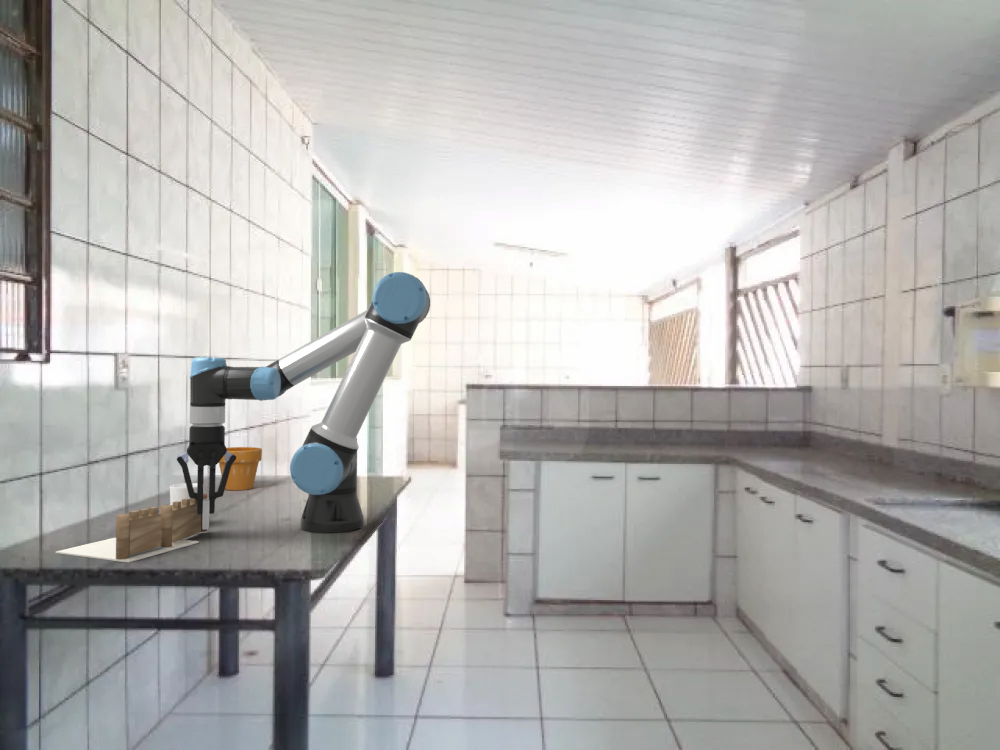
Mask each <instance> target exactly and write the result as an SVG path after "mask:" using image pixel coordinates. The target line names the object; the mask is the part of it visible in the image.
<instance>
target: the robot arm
mask: <svg viewBox="0 0 1000 750" xmlns="http://www.w3.org/2000/svg"><path fill="white" fill-rule="evenodd" d="M371 297H372V301H371V302H370V303H369V305H368V308H367V309H366V310H364V311H363V312H361V313H359V314H357V315H355V316H354V317H351V318H350V319H348V320H346V321H345V322H342V323H341V324H340V325H338V326H335V327H334V328H332V329H330V330H329V331H326V332H325V333H323V334H322V335H320V336H318V337H316V338H315V339H312V340H311V341H308V343H305V344H304V345H302V346H301V347H298V348H297V349H294V350H293V351H291V352H289V353H288V354H285V355H284V356H282V357H280V358H279V359H277V360H274V361H273V362H271V363H270V364H268V365H267V366H230V365H228V364H227V360H226V359H225V358H224V357H199V356H198V357H195V358H193V359H192V361H191V365H190V366H191V367H190V375H189V379H190V380H189V381H190V382H189V383H190V384H189V385H190V387H189V388H190V389H189V390H190V392H189V393H190V394H189V395H190V396H189V397H190V398H189V400H190V403H189V423H190V424H191V426H190V427H189V431H188V432H189V441H188V442H189V445H187V448H186V452H184V453H182V454H180V455H178V456H176V461H177V463H178V464H179V465H180V466H181V467H180V468H181V470H182V474H183V477H184V478H183V479H184V483H186V486H187V490H188V494H189V497H190V498H193V499H196V500H197V513H198V515H199V514H202V530H206V529H207V530H209V529H210V515H214V514H215V512H216V509H215V507H216V503H215V502H216V500H217V499H218V498H222V497H223V496H224V493H225V490H226V489H225V487H226V483H227V480H228V476H229V473H230V469H231V465H232V464H233V463H234V461H235V460H236V456H235V455H234V454H231V453H229V452H228V451H227V448H228V447H227V446H226V445H225V444H226V443H225V442H226V441H225V439H226V433H225V430H226V427H225V426H224V425H223V424H225V423H226V400H246V401H247V400H248V401H249V400H251V401H261V402H262V401H271V400H273V401H274V400H276V399H277V398H278V397H281V396H282V395H283V394H285V393H286V391H288V390H290V389H292V388H294V386H296V385H299V384H300V383H301V382H303V381H305V380H307V379H309V378H311V377H313V376H314V375H316V374H318V373H320V372H322V371H323V370H326V369H327V368H329V367H331V366H332V365H334V364H336V363H339V361H341V360H343V359H345V358H347V357H348V356H350V355H352V354H353V355H352V358H351V360H350V363H349V364H348V366H347V368H346V371H345V373H344V375H343V376H342V379H341V381H340V383H339V385H338V387H337V389H336V390H335V393H334V395H333V398H331V402H330V404H329V406H328V407H327V410H326V412H325V414H324V416H323V418H322V419H321V421H320V423H317V424H313V425H312V426H311V428H310V429H309V432H308V433H307V436H306V437H305V440H304V442H303V444H302V445H301V446H300V447H299V448H298V449H297V450H296V452H294V454H293V456H292V457H291V460H290V465H289V473H290V476H291V480H292V482H293V483H294V485H295V486H296V487H297V488H298V489H299V490H301V491H302V492H304V493H306V494H308V497H307V499H306V502H305V505H304V509H303V513H302V515H301V518H300V528H301V530H304V531H307V532H311V533H342V532H344V533H345V532H350V531H355V529H356V530H359V529H361V528H363V527H364V517H365V516H364V514H363V511H362V507H361V504H360V501H359V498H358V494H357V493H358V450H359V444H358V437H357V436H358V435H359V433H360V430H361V429H362V427H363V425H364V422H365V420H366V418H367V417H368V414H369V412H370V409H371V408H372V405H373V404H374V402H375V399H376V397H377V395H378V394H379V391H380V389H381V387H382V386H383V383H384V381H385V379H386V377H387V374H388V372H389V370H390V368H391V366H392V365H393V362H394V360H395V358H396V356H397V354H398V352H399V349H401V345H403V344H405V343H407V342H411V341H412V338H413V336H414V334H415V332H416V329H417V328H418V326H419V324H421V322H423V321H424V320H425V319H426V318H427V316H428V314H429V312H430V309H431V297H430V294H429V292H428V290H427V288H426V286H425V285H424V283H423V282H422V281H421V280H420V279H419V277H416V276H415V275H414V274H410V273H408V272H403V271H396V272H392V273H388V274H386V275H384V276H383V277H382V278H380V279H379V281H378V282H377V284H376V285H375V287H374V288H373V293H372V295H371ZM224 455H225V461H226V463H225V467H224V470H223V474H222V475H221V479H220V481H219V484H218V485H219V486H218V489H217V491H216V472H217V471H216V470H217V469H216V468H217V464H218V465H219V461H220V460H221V459H222V457H223V456H224ZM189 458H190V459H191V460H192V462H193V463H194V464H195V465H197V477H196V478H197V479H196V480H197V481H196V483H197V493H195V492H194V489H193V486H192V483H193V482H192V478H191V473H190V469H189V466H188V462H189ZM206 466H208V467H209V468H208V469H209V475H208V476H209V477H208V478H209V479H208V498H207V499H203V484H204V479H205V478H204V474H205V473H204V472H205V471H204V470H205V468H204V467H206ZM360 527H361V528H360ZM358 528H359V529H358Z"/></svg>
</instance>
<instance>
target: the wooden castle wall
mask: <svg viewBox="0 0 1000 750" xmlns="http://www.w3.org/2000/svg"><path fill="white" fill-rule="evenodd" d="M115 519H116V520H115V537H116V559H118V560H122V559H128V558H129V555H132V554H135V553H139V552H143V551H147V550H150V549H154V548H158V547H171V546H172V505H170V504H162V505H159V507H158V506H152V507H148V508H141V509H138V510H131V511H129V512H128V513H118V514H116V515H115Z"/></svg>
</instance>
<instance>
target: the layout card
mask: <svg viewBox="0 0 1000 750" xmlns="http://www.w3.org/2000/svg"><path fill="white" fill-rule="evenodd" d="M199 543H200V541H199V540H188V539H182V540H179V541H177V542H174V543H172V546H171V547H158V548H154V549H150V550H147V551H143V552H139V553H135V554H132V555H129V558H128V559H122V560H118V559H116V536H115V537H111V538H107V539H103V540H99V541H95V542H90V543H85V544H82V545H78V546H73V547H69V548H66V549H65V548H64V549H62V550H61V549H60V550H57V551H56V550H55V552H54V553H55V554H60V555H67V556H75V557H84V558H90V559H96V560H97V559H98V560H105V561H106V560H107V561H112V562H113V561H115V562H121V563H132V562H136V561H138V560H139V561H140V560H142V559H147V558H149V557H153V556H156V555H160V554H163V553H167V552H172V551H174V550H178V549H182V548H185V547H188V546H193V545H196V544H199Z"/></svg>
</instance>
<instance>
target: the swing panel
mask: <svg viewBox="0 0 1000 750" xmlns="http://www.w3.org/2000/svg"><path fill="white" fill-rule="evenodd" d="M203 499H208V493H204V494H203ZM205 532H208V529H206V530H202V514H199V515H198V513H197V500H196V499H193V498H190V499H182V506H181V501H175V502H173V509H172V543H174V542H177V541H179V540H185V539H187V538H189V537H192V536H195V535H198V534H199V533H205Z"/></svg>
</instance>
